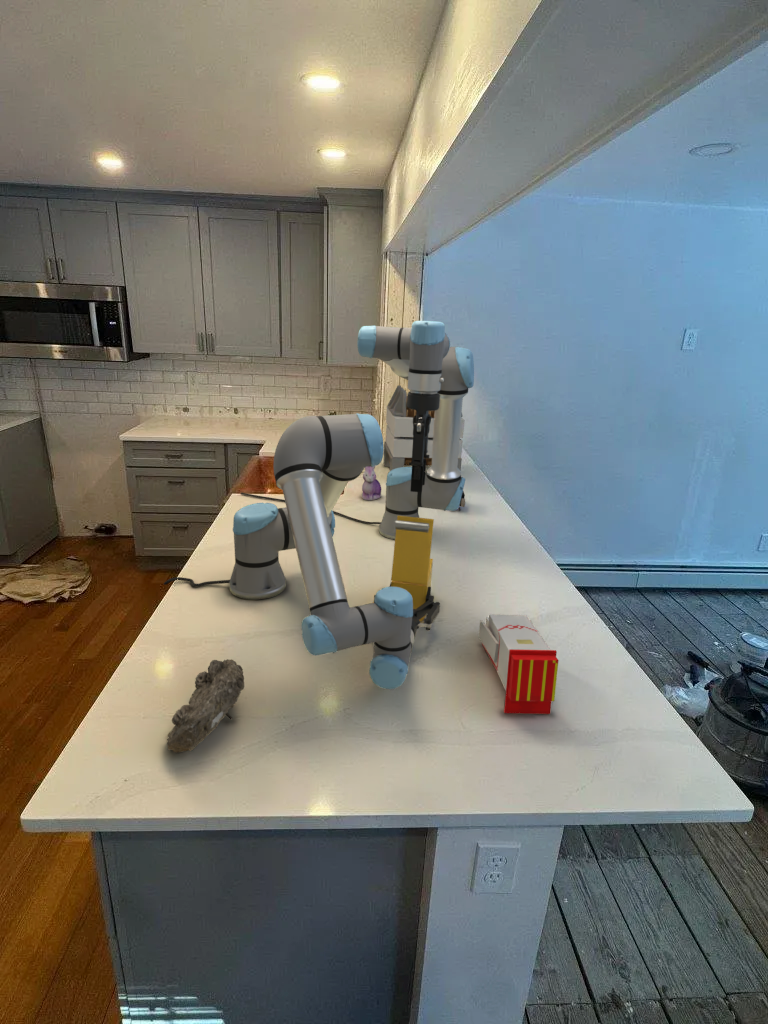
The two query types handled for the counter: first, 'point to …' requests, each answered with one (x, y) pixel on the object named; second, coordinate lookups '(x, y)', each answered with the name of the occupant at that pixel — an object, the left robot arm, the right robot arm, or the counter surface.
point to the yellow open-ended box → (416, 589)
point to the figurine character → (462, 501)
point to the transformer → (406, 433)
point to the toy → (521, 662)
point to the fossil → (206, 705)
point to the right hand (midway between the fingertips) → (417, 487)
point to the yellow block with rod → (412, 549)
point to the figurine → (370, 485)
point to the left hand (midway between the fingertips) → (410, 589)
